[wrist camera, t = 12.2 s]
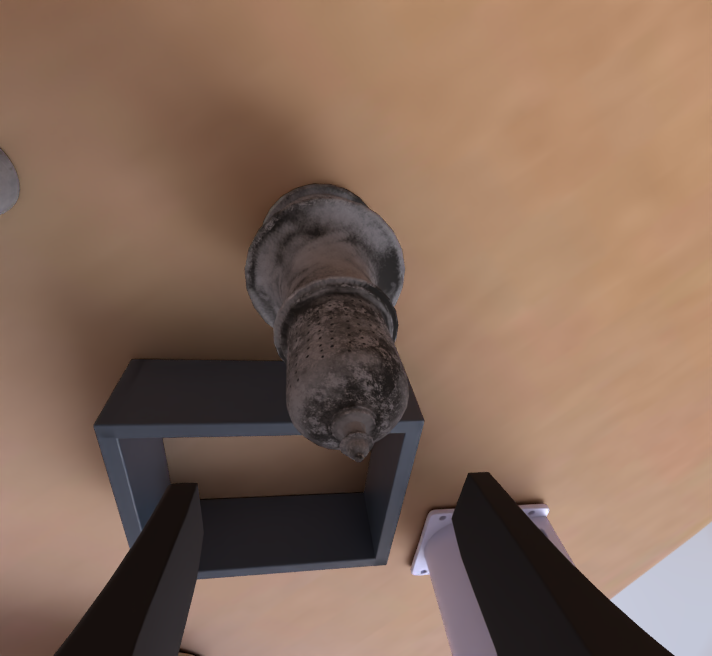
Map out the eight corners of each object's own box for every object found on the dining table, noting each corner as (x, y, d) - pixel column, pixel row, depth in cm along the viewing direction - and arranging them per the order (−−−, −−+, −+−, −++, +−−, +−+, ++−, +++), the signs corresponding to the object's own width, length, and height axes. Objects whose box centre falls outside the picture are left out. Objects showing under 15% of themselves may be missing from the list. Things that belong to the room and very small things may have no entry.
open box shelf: (402, 361, 22) (425, 420, 18) (373, 499, 28) (386, 565, 24) (130, 358, 20) (91, 425, 16) (162, 509, 25) (139, 584, 22)
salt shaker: (223, 232, 17) (121, 456, 7) (335, 144, 16) (414, 256, 6) (309, 325, 20) (327, 579, 10) (409, 257, 19) (549, 464, 9)
